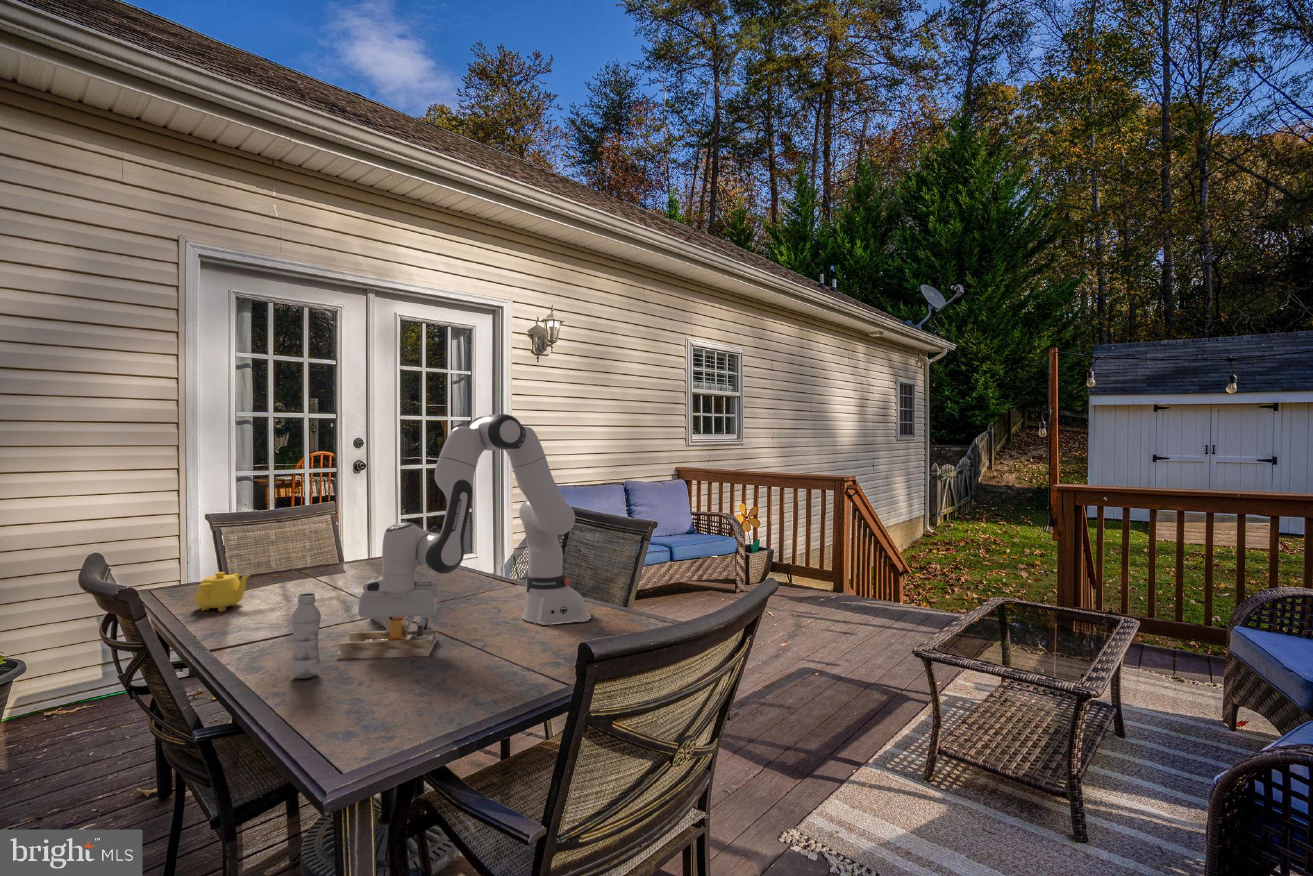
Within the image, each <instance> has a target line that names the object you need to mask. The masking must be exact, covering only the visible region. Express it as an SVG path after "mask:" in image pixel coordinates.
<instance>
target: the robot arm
mask: <svg viewBox="0 0 1313 876" xmlns="http://www.w3.org/2000/svg"><path fill="white" fill-rule="evenodd" d="M537 435H538V434H536V431H535V430H534V429H533V428H531V427H529V426H525V425H524V426H523V425H522V423H521V422H520V421H519V420H518V419H517V418H516V417H515V416H512V415H511V414H510V415H509V414H506V413H504V414H502V413H501V414H500V413H499V414H497V413H496V414H495V413H494V414H488V415H484V416H479V417H476V418H475V419H474V420H472V421H471V422H470V423H469V424H468V425H467V426H456V427H454V428H453V429H452V430H451V431H450V432H449V434H448V436H447V438H446V440H445V441H444V444H443V445H442V449H441V451H440V453H439V456H438V460H437V462H436V465H435V470H434V481H435V483H436V485H437V487H438V488H439V489H440V490H441V491H442V492H443V494H444V496H445V499H446V510H445V514H444V518H443V523H442V527H441V531H440V533H436V532H433V531H428V530H426V529H423V528H420V527H419V526H416V525H415V524H414V523H413V522H406V521H405V522H400V523H395V524H392V525H390V526H388V527H387V528H386V529H385V531H384V534H383V537H382V538H383V539H382V548H381V558H382V561H383V563H382V564H383V565H382V570H381V576H377V577H373V578H370V579H369V580H367V581H366V582H365V583H364V584H363V585H362V590H363V593H362V594H361V595H360V597H359V601H358V609H357V610H358V611H357V614H358V616H359V617H360V618H361V619H364V618H367V619H368V618H369V619H372V617H382V622H383V624H384V625H385V627H384V628H385V631H386V633H390V624H389V622H388V619H389V617H406V618H407V621H408V622H407V623H406V625H404V626H403V633H405V632H409V631H410V630H411V624H412V622H413V621H414V619H415V617H432V616H434V615H436V612H438V602H437V596H438V594H439V587H438V585H437V584H436V583H435V582H433V581H417V568H418V567H420V566H423V567H424V568H425V567H426V568H428V569H430V570H432V571H435V572H437V574H442V575H443V574H444V575H445V574H450V573H451V572H454V571H455V570H456V569H458V568H459V566H460V565H461V564H462V562H463V559H464V557H465V534H466V529H467V524H468V519H469V514H470V511H471V506H472V505H471V504H472V500H473V499H472V498H473V483H474V477H475V473H476V470H477V466H478V463H479V459H480V457H481V455H482V454H483V453H484V451H492V452H493V451H500V450H504V451H505V452H506V454H507V456H508V457H509V461H510V464H511V468H512V471H513V474H514V477H515V480H516V483H517V486H518V488H519V490H520V491H521V492H522V493H523V495H524V496H525V499H526V500H524V502H523V503H522V504H521V505H520V508H519V510H518V511H519V512H518V515H519V519H520V520H521V522H522V525H523V529H524V533H525V538H526V544H527V545H526V546H527V554H528V555H527V557H528V558H527V560H528V562H527V563H528V564H527V574H526V578H525V579H526V581H525V591H526V598H525V605H524V609H523V613H522V616H521V618H523V619H524V620H527V621H529V622H528V623H530V622H537V623H539V624H552V623H558V622H567V621H571V620H574V619H579V618H581V617H585V615H586V611H585V609H586V604H585V601H584V600H585V599H584V597H583V596H582V595H581V594H580V593H579V592H577V591H576V590H575V589H574V588H572V587H571V586H570V585H569V584H570V583H571V578H570V577H569V576H568V575H567V574H564V573H563V559H564V558H563V548H562V546H561V544H560V541H559V539H558V536H559V535H563V534H566V533H568V532H569V531H571V530H572V529H573V527H574V525H575V522H576V514H575V511H574V510H573V508H572V507H571V506H570V505H569V504H568V502H567V501H566V500H565V497H564V495H563V494H562V493H561V491H560V489H559V487H558V486H557V484H556V482H555V480H554V477H553V475H552V472H551V469H550V466H549V462H548V461H547V457H546V454H545V450H544V448H543V446H542V443H541V441H540V439H539V437H538V436H537ZM523 619H522V620H523ZM524 620H523V621H524ZM527 621H526V622H527Z"/></svg>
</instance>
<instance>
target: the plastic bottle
mask: <svg viewBox="0 0 1313 876" xmlns="http://www.w3.org/2000/svg"><path fill="white" fill-rule="evenodd" d="M315 603H316V593H314V592H306V593H301V594H298V596H297V604H298V605H297V607H296V608H295V610H294V611H293V613H292V614H291V617H290V618H291V627H292V635H293V637H292V638H293V646H292V647H293V648H292V658H291V662H290V667H289V668H290V669H289V670H290V674H291V676H292V678H294V679H295V680H303V679H304V680H305V679H311V678H313V677H316V676H317V675H318V674H319V672H320V671H321V666H322V665H321V659H320V658H321V657H320V653H319V652H320V651H319V632H320V626H321V618H322V613H321V611H320V609H319V608H318V607H317V605H316V604H315Z"/></svg>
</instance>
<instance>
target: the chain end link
mask: <svg viewBox="0 0 1313 876" xmlns="http://www.w3.org/2000/svg"><path fill="white" fill-rule="evenodd" d="M404 625H407V617H393V618H392V619H391V620H390V641H394V640H418V639H431V642H432V640H433V639H434V633H433V634H423V636H418V637H417V634H408V635H407V637H406V632H405V633H403V626H404ZM365 641H376V639H375V640H365ZM377 641H388V639H378V640H377Z"/></svg>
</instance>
